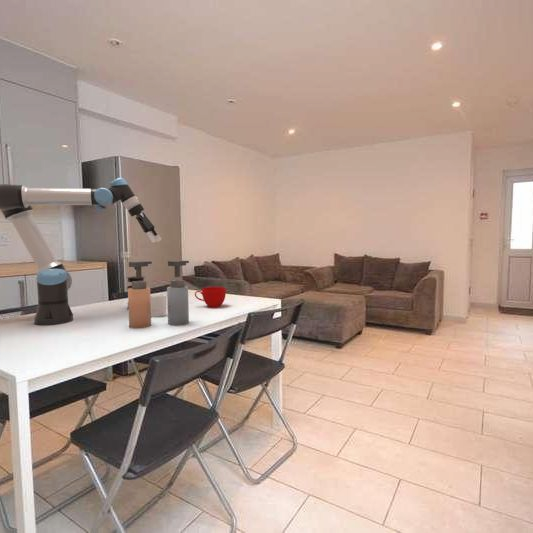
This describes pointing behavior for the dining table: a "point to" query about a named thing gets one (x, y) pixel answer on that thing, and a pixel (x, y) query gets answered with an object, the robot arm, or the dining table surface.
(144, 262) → the grey dispenser pump
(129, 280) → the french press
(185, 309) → the slate pump bottle
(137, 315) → the terracotta pump bottle
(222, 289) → the ceramic cup
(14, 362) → the dining table surface
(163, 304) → the white cup
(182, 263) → the slate pump head
